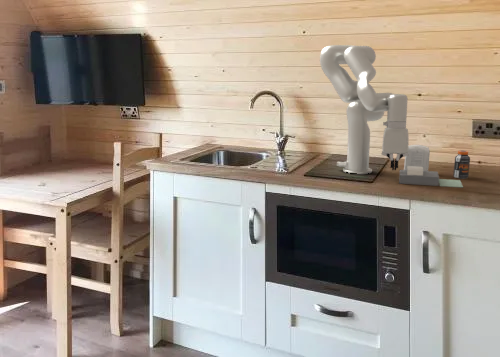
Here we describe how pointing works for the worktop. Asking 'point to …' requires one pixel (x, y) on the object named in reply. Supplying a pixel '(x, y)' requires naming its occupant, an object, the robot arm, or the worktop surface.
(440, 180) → the mat
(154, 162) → the worktop surface
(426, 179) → the plate
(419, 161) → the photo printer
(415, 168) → the tile
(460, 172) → the pill bottle
